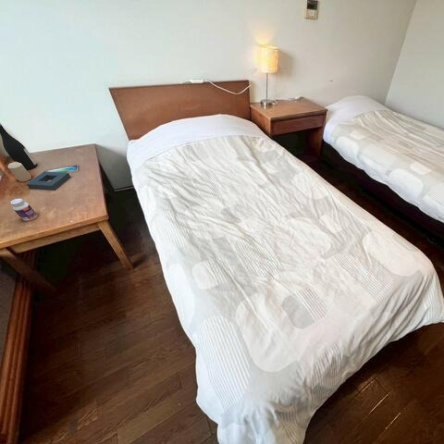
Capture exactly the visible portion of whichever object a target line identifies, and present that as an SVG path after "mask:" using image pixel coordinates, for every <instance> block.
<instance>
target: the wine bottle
mask: <svg viewBox="0 0 444 444" xmlns="http://www.w3.org/2000/svg"><path fill="white" fill-rule="evenodd" d="M0 137H1V142H2V146H3V149H4V150H5V152H6V154H7V155H8V156H9V157H10V158H11V160H12V161H13V162H18V163H21V164H22V165H23V167H24V168H25V169H26V170H27V171H28V170H32V169H34V168H36V167H37V166H38V163H37V162H36V160H35V158H34V157H33V156H32V155H31V153H30V152H29V151H28V149H27V148H26V146H25V145H24V144H22V142H20V141H19V140H18V139H16V138H15V137H14V136H12V135H11V134H10V133H8V131H7V130H6V129H5V127H4V125H2V123H1V122H0Z"/></svg>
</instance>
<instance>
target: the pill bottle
mask: <svg viewBox="0 0 444 444" xmlns="http://www.w3.org/2000/svg"><path fill="white" fill-rule="evenodd" d="M10 204H11V206H12V210H13V211H14V212H15V213H16V215H18V217H19V218H20V219H21V220H22V221H24V222H28V221H32V220H34V219H36V218H37V217H38V213H37V212H36V211H35V210H34V209H33V207H32V206H31V205H30V204H29V202H26V201H25V200H23V198H15V199H13V200H11V201H10Z"/></svg>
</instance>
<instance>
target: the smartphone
mask: <svg viewBox="0 0 444 444" xmlns="http://www.w3.org/2000/svg"><path fill="white" fill-rule="evenodd" d="M46 171H47V172H63V173H75V172H78V171H79V165H77V164H76V165H71V166H65V167H60V168H54V169H49V170H46Z"/></svg>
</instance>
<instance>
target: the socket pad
mask: <svg viewBox="0 0 444 444" xmlns="http://www.w3.org/2000/svg"><path fill="white" fill-rule="evenodd" d="M47 171H48V170H45V171H42V172H41V173H39V174H38V175H37V176H35V177H34V178H33V179H30V180H29V181H28V182H27V183H25V185H26V187H28V189H30V190H43V191H46V190H47V191H56V190H58V188H60V187H61V186H62V185H64V184H65V183H67V181H68V180H70V179H71V178H72V177H71V174H69V173H63V172H47Z"/></svg>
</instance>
